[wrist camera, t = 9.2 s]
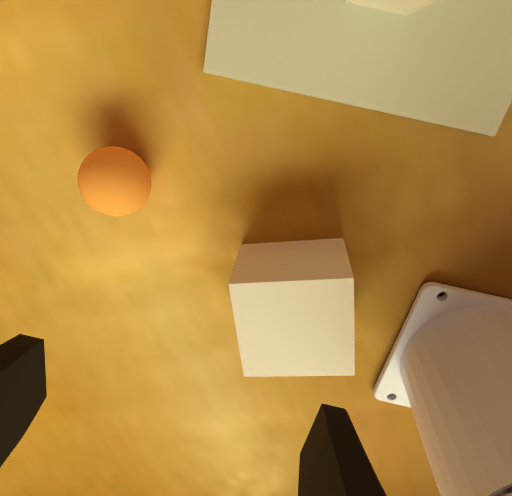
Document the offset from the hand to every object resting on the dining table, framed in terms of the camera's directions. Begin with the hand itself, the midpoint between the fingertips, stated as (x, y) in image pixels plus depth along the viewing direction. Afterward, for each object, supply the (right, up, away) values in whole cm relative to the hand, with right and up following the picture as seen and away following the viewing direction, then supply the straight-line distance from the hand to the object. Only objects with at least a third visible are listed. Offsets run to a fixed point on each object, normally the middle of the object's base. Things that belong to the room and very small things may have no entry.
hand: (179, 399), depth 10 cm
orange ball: (-4, +7, +7) cm, 10 cm away
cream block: (+4, +2, +10) cm, 11 cm away
